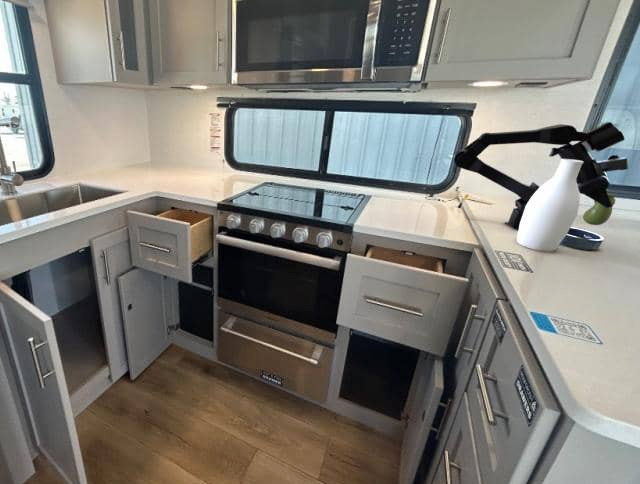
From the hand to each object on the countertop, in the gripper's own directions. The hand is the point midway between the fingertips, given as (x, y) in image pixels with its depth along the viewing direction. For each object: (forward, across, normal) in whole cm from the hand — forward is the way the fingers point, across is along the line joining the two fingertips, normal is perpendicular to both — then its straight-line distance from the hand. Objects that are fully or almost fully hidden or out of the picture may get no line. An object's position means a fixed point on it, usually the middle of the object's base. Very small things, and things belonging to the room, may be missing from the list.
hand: (609, 205), depth 98 cm
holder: (+6, -5, +11) cm, 14 cm away
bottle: (+1, -18, +17) cm, 25 cm away
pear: (+4, 0, +6) cm, 7 cm away
